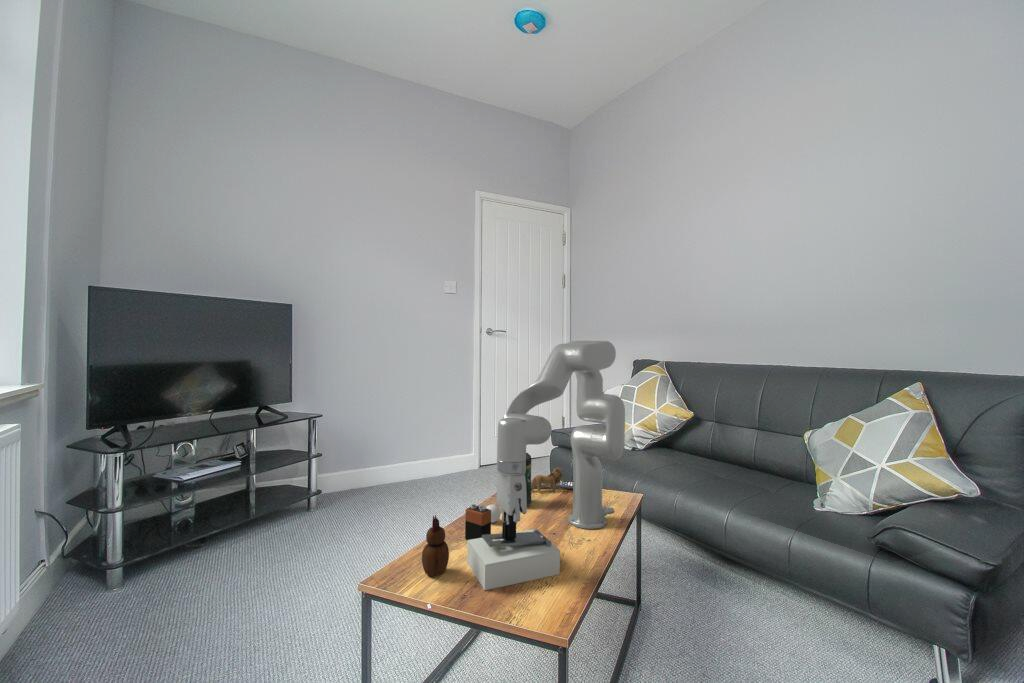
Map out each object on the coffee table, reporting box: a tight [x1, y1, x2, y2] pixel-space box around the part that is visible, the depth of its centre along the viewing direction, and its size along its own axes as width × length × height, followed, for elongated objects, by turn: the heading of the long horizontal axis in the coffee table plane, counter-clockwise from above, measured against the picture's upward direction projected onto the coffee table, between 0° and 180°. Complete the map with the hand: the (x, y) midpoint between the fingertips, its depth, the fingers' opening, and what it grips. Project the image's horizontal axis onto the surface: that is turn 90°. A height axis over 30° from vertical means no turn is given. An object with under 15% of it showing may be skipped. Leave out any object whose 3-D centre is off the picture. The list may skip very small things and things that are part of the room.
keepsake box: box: [466, 528, 561, 591], centre depth 112 cm, size 20×14×8 cm
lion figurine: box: [531, 467, 564, 494], centre depth 173 cm, size 15×5×9 cm, turn 110°
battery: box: [464, 504, 492, 541], centre depth 128 cm, size 4×7×10 cm, turn 55°
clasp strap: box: [482, 531, 549, 547], centre depth 112 cm, size 17×6×1 cm, turn 113°
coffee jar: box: [525, 452, 532, 508], centre depth 158 cm, size 10×8×19 cm
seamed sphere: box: [485, 503, 502, 524], centre depth 141 cm, size 8×6×6 cm
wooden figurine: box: [421, 515, 450, 578], centre depth 109 cm, size 7×6×15 cm
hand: (509, 538), depth 112 cm, fingers closed
